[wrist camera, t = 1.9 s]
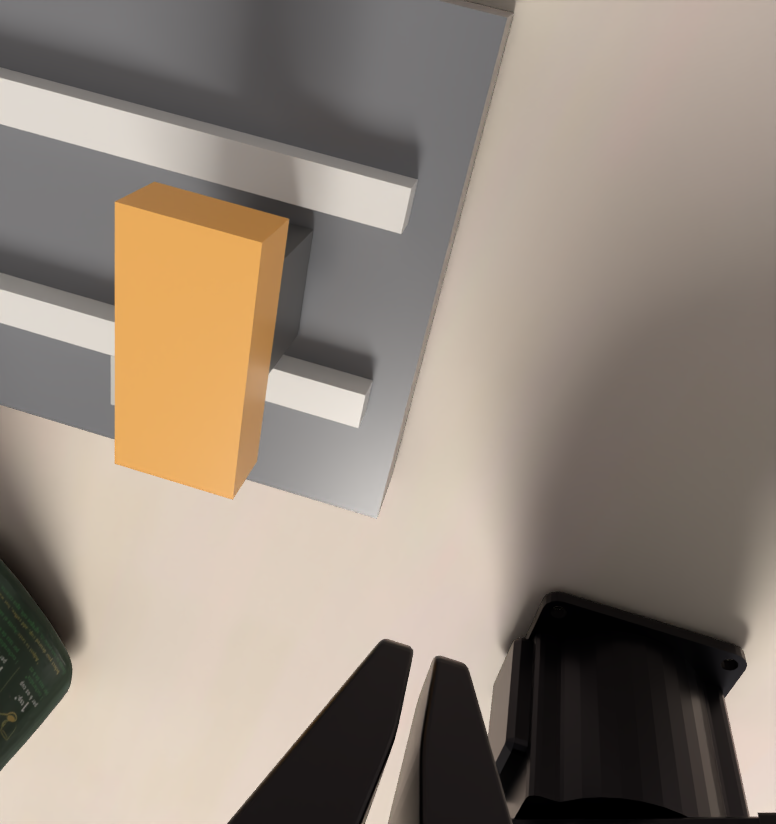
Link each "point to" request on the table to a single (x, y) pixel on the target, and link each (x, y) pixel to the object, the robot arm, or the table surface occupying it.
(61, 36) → the console
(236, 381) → the fader
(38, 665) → the coffee jar
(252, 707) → the table surface
